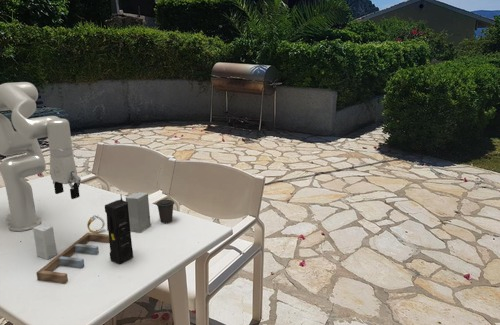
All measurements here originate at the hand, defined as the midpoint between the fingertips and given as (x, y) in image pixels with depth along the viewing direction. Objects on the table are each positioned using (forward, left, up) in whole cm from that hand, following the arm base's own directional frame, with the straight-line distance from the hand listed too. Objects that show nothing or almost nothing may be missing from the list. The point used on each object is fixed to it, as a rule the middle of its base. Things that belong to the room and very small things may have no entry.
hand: (67, 195), depth 142 cm
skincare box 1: (-7, -7, -23) cm, 25 cm away
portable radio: (+22, -4, -23) cm, 32 cm away
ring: (+1, +14, -23) cm, 27 cm away
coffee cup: (+26, +31, -23) cm, 46 cm away
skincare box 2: (+17, +22, -23) cm, 36 cm away
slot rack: (+6, -7, -23) cm, 25 cm away
